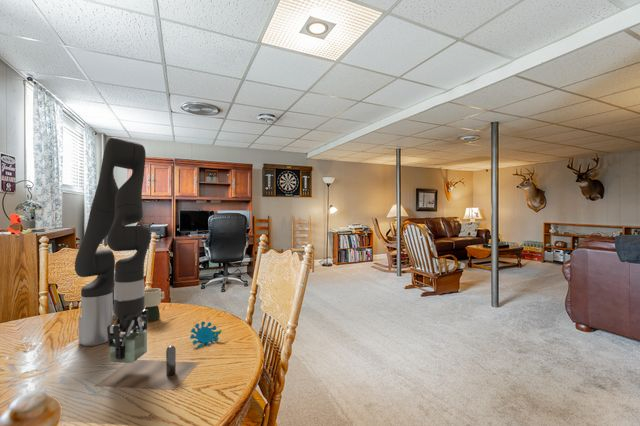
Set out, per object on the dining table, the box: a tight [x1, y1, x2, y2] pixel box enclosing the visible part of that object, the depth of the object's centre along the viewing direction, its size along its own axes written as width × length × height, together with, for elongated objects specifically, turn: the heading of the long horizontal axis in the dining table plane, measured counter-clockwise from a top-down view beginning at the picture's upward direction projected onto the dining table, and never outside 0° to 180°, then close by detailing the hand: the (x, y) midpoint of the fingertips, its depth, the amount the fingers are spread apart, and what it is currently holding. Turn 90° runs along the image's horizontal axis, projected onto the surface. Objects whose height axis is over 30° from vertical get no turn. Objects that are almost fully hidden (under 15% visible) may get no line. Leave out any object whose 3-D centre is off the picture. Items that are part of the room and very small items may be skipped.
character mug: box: [144, 287, 165, 322], centre depth 131 cm, size 11×7×13 cm, turn 145°
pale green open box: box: [109, 331, 148, 364], centre depth 88 cm, size 6×6×6 cm
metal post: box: [165, 345, 177, 377], centre depth 87 cm, size 2×2×8 cm
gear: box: [189, 321, 223, 349], centre depth 109 cm, size 11×6×10 cm
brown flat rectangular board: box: [95, 359, 200, 391], centre depth 88 cm, size 22×14×1 cm, turn 86°
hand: (129, 352), depth 88 cm, fingers closed on pale green open box, 6 cm apart
